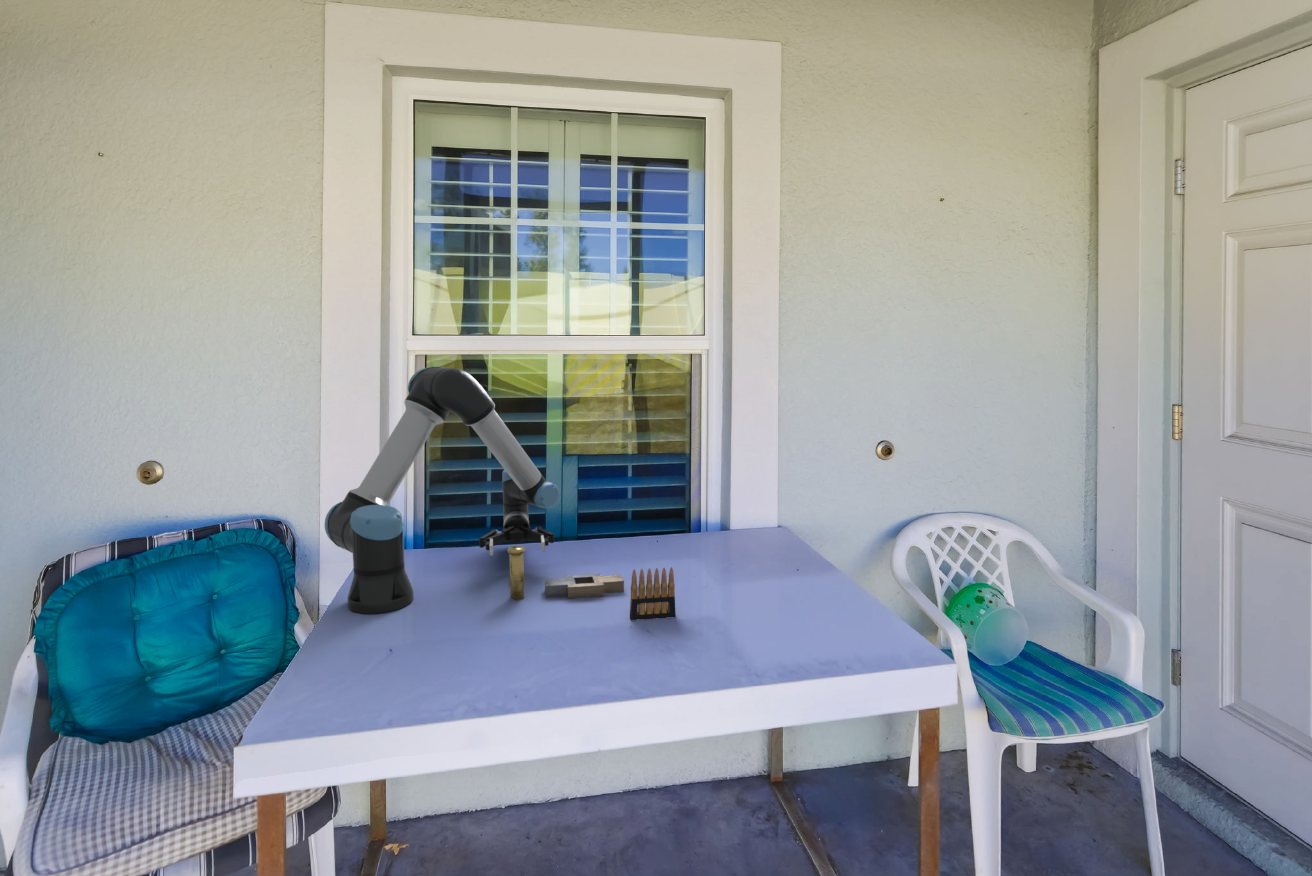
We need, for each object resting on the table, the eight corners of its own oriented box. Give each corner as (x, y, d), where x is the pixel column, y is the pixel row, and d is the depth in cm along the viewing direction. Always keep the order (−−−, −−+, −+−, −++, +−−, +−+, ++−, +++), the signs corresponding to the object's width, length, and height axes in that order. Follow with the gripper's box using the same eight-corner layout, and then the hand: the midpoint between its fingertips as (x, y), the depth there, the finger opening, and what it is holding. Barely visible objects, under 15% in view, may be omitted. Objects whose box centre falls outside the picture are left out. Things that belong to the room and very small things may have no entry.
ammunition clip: (674, 614, 166) (674, 565, 164) (675, 617, 164) (676, 568, 163) (629, 617, 164) (629, 568, 162) (630, 620, 162) (630, 570, 161)
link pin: (508, 601, 174) (507, 551, 172) (508, 595, 178) (507, 546, 176) (526, 599, 175) (525, 550, 173) (525, 594, 179) (524, 545, 177)
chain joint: (546, 600, 174) (545, 588, 174) (544, 588, 183) (544, 577, 182) (625, 594, 178) (625, 583, 178) (619, 583, 187) (619, 572, 187)
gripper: (559, 536, 208) (565, 559, 188) (473, 542, 203) (469, 565, 183) (558, 512, 207) (564, 532, 187) (472, 517, 202) (468, 538, 182)
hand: (517, 548), depth 185 cm, fingers open, 13 cm apart
